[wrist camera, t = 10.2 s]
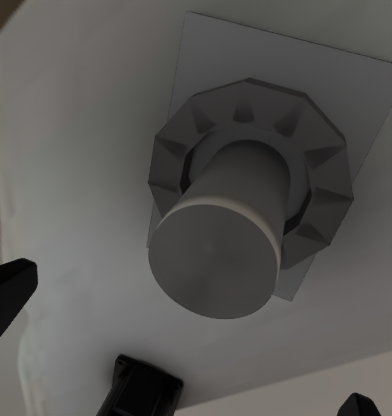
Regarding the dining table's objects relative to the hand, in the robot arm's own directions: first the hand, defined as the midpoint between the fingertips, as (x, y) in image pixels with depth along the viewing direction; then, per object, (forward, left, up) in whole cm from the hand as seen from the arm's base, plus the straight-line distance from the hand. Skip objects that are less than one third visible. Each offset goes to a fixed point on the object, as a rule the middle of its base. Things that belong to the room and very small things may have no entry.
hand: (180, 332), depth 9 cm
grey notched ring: (0, 0, -12) cm, 12 cm away
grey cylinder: (0, 0, -11) cm, 11 cm away
